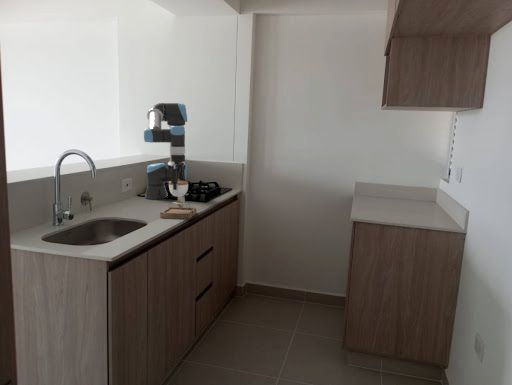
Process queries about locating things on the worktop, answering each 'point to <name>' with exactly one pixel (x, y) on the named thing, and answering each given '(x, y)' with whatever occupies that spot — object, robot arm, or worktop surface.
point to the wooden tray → (178, 212)
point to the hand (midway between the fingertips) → (178, 193)
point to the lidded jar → (179, 187)
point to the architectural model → (180, 201)
